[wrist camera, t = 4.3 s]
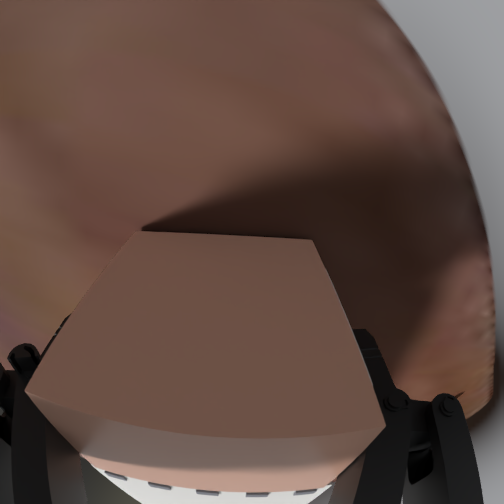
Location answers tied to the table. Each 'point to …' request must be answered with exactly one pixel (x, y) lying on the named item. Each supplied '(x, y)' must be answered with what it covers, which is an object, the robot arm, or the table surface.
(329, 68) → the table surface
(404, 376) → the table surface
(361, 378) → the peach rectangular block
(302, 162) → the table surface
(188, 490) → the block
